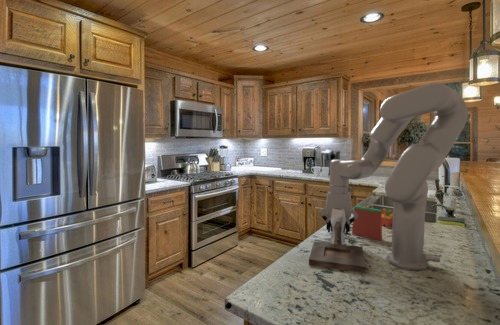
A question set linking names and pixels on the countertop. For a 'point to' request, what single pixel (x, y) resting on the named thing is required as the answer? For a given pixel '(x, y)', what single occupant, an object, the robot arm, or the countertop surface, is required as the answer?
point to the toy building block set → (371, 222)
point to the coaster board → (338, 257)
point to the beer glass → (338, 226)
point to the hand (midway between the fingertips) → (337, 232)
